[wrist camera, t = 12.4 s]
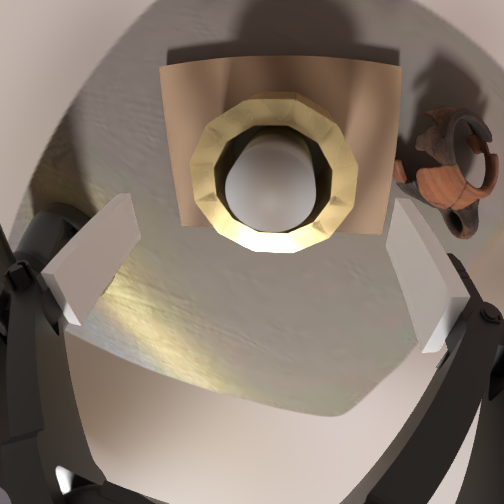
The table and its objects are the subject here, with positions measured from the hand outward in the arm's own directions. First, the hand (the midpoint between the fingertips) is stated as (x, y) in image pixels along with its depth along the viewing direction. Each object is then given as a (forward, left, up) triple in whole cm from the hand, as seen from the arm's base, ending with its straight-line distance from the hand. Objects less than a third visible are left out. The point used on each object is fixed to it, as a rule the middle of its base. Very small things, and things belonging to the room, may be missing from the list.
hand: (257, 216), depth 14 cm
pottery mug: (+15, -1, -14) cm, 21 cm away
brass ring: (0, 0, -10) cm, 10 cm away
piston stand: (0, 0, -14) cm, 14 cm away
